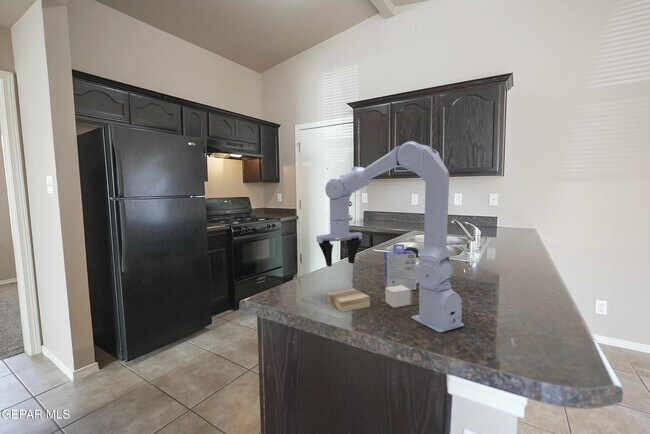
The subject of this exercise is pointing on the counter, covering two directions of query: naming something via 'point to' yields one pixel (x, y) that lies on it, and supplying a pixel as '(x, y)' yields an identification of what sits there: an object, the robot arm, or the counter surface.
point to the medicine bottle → (416, 255)
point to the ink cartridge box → (400, 267)
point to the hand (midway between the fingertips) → (340, 264)
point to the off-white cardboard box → (398, 296)
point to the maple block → (348, 299)
